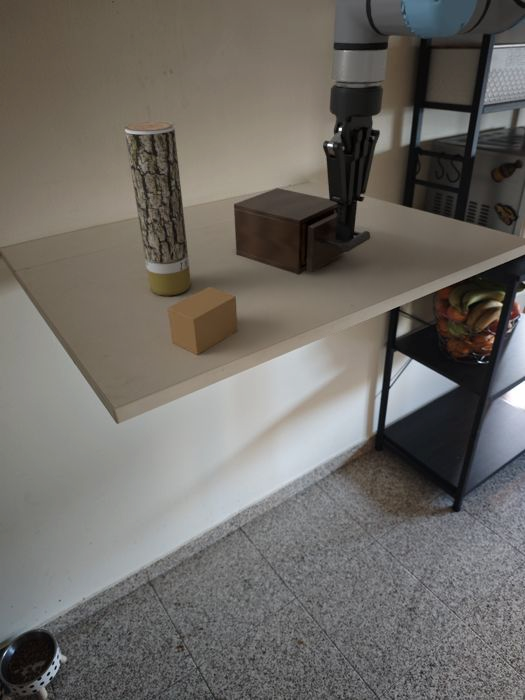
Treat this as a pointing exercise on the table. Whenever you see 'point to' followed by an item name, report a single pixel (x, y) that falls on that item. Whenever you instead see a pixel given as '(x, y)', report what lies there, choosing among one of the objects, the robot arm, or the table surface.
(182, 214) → the paper tube
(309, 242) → the drawer
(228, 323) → the small cardboard box
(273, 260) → the cabinet
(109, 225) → the table surface
